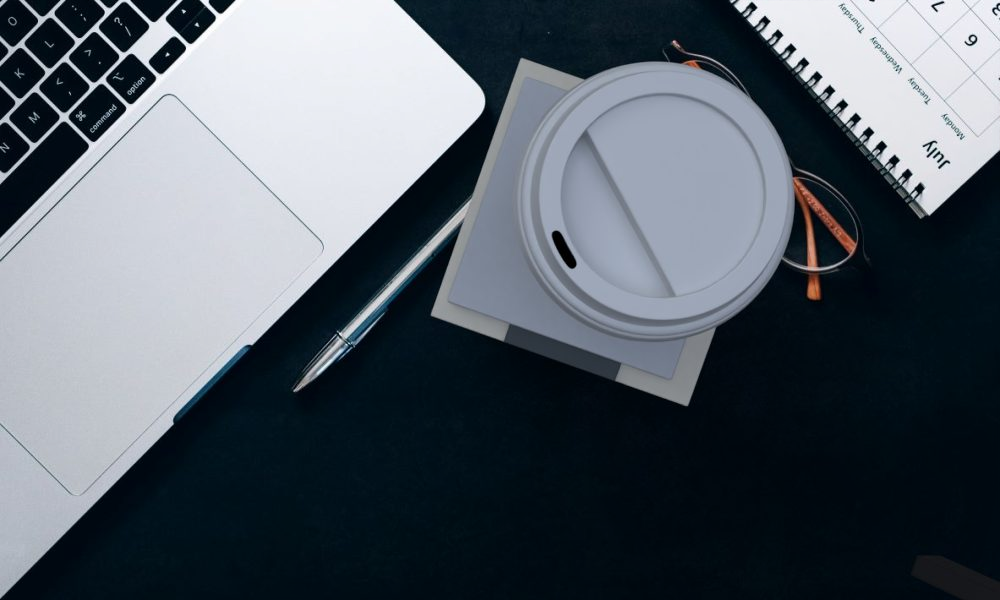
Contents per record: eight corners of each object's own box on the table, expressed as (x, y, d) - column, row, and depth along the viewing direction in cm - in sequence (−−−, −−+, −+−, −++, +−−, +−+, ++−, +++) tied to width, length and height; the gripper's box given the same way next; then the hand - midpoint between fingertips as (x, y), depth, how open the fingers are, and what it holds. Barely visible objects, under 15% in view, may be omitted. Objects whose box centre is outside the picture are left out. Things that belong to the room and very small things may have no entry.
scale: (678, 400, 44) (691, 409, 41) (435, 314, 44) (428, 316, 41) (766, 155, 44) (786, 144, 40) (520, 69, 44) (520, 52, 41)
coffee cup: (503, 145, 41) (496, 62, 26) (694, 123, 40) (799, 27, 26) (524, 334, 41) (529, 361, 26) (714, 313, 41) (830, 329, 26)
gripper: (1893, 1273, 18) (907, 695, 33) (2323, 189, 17) (1119, 111, 32) (2144, 1572, 12) (834, 721, 28) (2774, 27, 12) (1086, 25, 27)
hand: (986, 392), depth 30 cm, fingers open, 13 cm apart
